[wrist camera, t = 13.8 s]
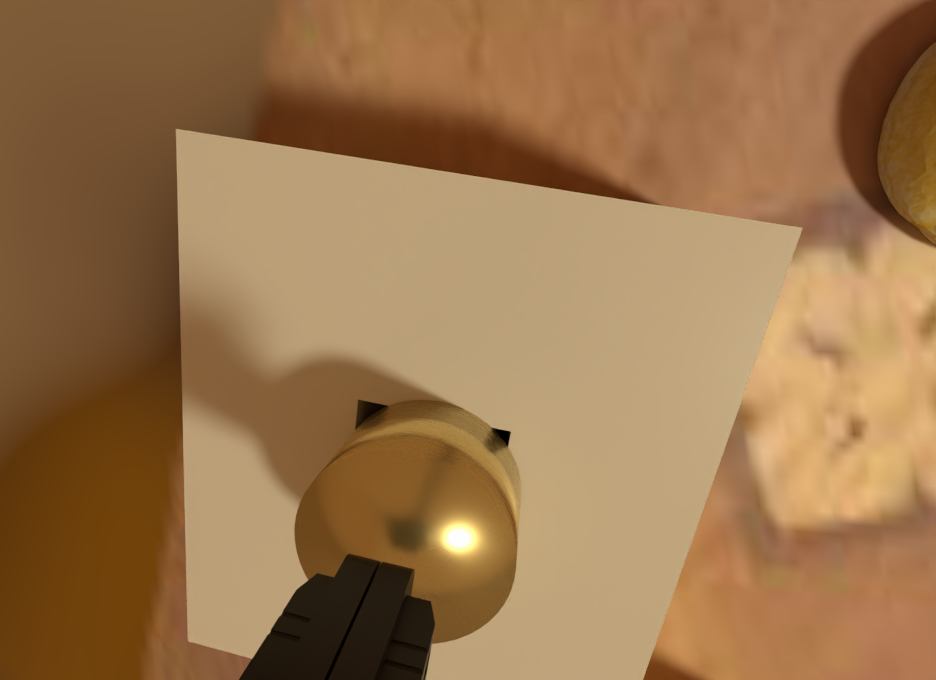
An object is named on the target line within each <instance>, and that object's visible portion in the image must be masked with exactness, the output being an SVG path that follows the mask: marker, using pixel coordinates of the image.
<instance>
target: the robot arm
mask: <svg viewBox="0 0 936 680" xmlns="http://www.w3.org/2000/svg"><path fill="white" fill-rule="evenodd" d="M414 573H415V570H414V569H412V568H407V567H403V566H399V565H395V564H391V563H387V562H382V563H381V561H378V560H374V559H370V558H366V557H361V556H357V555H353V554H348V555H347V556H346V557H345V559H344V560H343V562H342V564H341V566H340V568H339V569H338V571H337V573H336V575H335V577H331V576H327V575H323V574H319V573H317V574H316V575H315V576H313V577H312V578H311V579H309V580H308V581H307V582H306V583H304V584H303V585H302V586H300V587H299V588H298V589H297V590H296V591H295V593H294V594H293V596H292V597H291V599H290V601H289V602H288V604H287V605H286V607H285V608H284V610H283V612H282V615H281V616H279V618H278V619H277V621H276V622H275V624H274V626H273V627H272V629H271V632H270V634H268V635H267V636H266V638H265V640H264V641H263V643H262V644H261V646H260V647H259V649H258V651H257V652H256V654H255V655H254V657H253V658H252V660H251V662H250V663H249V665H248V666H247V668H246V669H245V671H244V672H243V674H242V676H241V677H240V679H239V680H426V675H427V670H428V664H429V658H430V652H431V646H432V641H433V635H434V629H435V620H434V615H433V609H432V604H431V601H428V600H424V599H420V598H416V597H412V596H411V594H412V587H413V581H414Z"/></svg>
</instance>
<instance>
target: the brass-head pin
mask: <svg viewBox="0 0 936 680" xmlns="http://www.w3.org/2000/svg"><path fill="white" fill-rule="evenodd" d="M520 506H521V480H520V474H519V470H518V467H517V464H516V461H515V459H514V457H513V455H512V453H511V451H510V449H509V448H508V446H507V444H506V443H505V441H504V440H503V439H502V438H501V437H500V435H499V434H498V433H497V432H496V431H495V428H492V427H491V426H490V425H488V424H487V423H486V422H485V421H483V420H482V419H480V418H479V417H478V416H476V415H474V414H472V413H471V412H469V411H467V410H465V409H462V408H460V407H457V406H455V405H452V404H448V403H444V402H439V401H432V400H411V401H403V402H399V403H395V404H392V405H389V406H387V407H384V408H382V409H380V410H379V411H377V412H375V413H373V414H372V415H371V416H369V417H368V418H367V419H365V420H364V421H363V422H362V423H361V424H360V426H359V427H358V428H357V429H356V430H355V431H354V432H353V434H352V435H351V436H350V437H349V438H348V440H347V441H346V442H345V443H344V445H343V446H342V447H341V448H340V449H339V451H338V452H337V453H336V454H335V455H334V457H333V458H332V459H331V460H330V461H329V463H328V464H327V465H326V466H325V467H324V469H323V470H322V471H321V472H320V473H319V475H318V476H317V477H316V478H315V480H314V481H313V482H312V483H311V485H310V486H309V488H308V489H307V490H306V492H305V493H304V495H303V498H302V500H301V502H300V504H299V507H298V510H297V514H296V519H295V527H294V533H295V545H296V551H297V555H298V558H299V561H300V564H301V567H302V569H303V571H304V573H305V575H306V577H307V579H308V580H309V579H311V578H312V577H313V576H315V575H316V574H317V573H319V574H323V575H327V576H331V577H335V575H336V573H337V571H338V569H339V568H340V566H341V564H342V562H343V560H344V559H345V557H346V556H347V555H348V554H353V555H357V556H361V557H366V558H370V559H374V560H378V561H381V563H382V562H387V563H391V564H395V565H399V566H403V567H407V568H412V569H414V570H415V573H414V581H413V587H412V594H411V596H412V597H416V598H420V599H424V600H428V601H431V604H432V609H433V615H434V620H435V629H434V635H433V641H432V644H436V643H444V642H448V641H452V640H456V639H459V638H462V637H464V636H467V635H469V634H471V633H473V632H475V631H477V630H478V629H480V628H481V627H483V626H484V625H485V624H487V623H488V622H489V621H490V620H491V619H492V618H493V617H494V616H495V615H496V614H497V613H498V612H499V611H500V609H501V608H502V607H503V605H504V604H505V602H506V600H507V598H508V596H509V594H510V592H511V589H512V586H513V583H514V579H515V572H516V562H517V548H518V534H519V520H520Z"/></svg>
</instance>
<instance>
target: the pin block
mask: <svg viewBox="0 0 936 680" xmlns="http://www.w3.org/2000/svg"><path fill="white" fill-rule="evenodd" d="M176 156H177V195H178V196H177V199H178V239H179V281H180V282H179V283H180V326H181V368H182V410H183V453H184V495H185V537H186V580H187V622H188V641H189V642H193V643H197V644H200V645H204V646H208V647H211V648H215V649H219V650H222V651H226V652H230V653H233V654H237V655H241V656H244V657H248V658H253V657H254V655H255V654H256V652H257V651H258V649H259V647H260V646H261V644H262V643H263V641H264V640H265V638H266V636H267V635H268V634H270V632H271V629H272V627H273V626H274V624H275V622H276V621H277V619H278V618H279V616H281V615H282V612H283V610H284V608H285V607H286V605H287V604H288V602H289V601H290V599H291V597H292V596H293V594H294V593H295V591H296V590H297V589H298V588H299V587H300V586H302V585H303V584H304V583H306V582H307V581H308V579H307V577H306V575H305V573H304V571H303V569H302V567H301V564H300V561H299V558H298V555H297V551H296V545H295V533H294V527H295V519H296V514H297V510H298V507H299V504H300V502H301V500H302V498H303V495H304V493H305V492H306V490H307V489H308V488H309V486H310V485H311V483H312V482H313V481H314V480H315V478H316V477H317V476H318V475H319V473H320V472H321V471H322V470H323V469H324V467H325V466H326V465H327V464H328V463H329V461H330V460H331V459H332V458H333V457H334V455H335V454H336V453H337V452H338V451H339V449H340V448H341V447H342V446H343V445H344V443H345V442H346V441H347V440H348V438H349V437H350V436H351V435H352V434H353V432H354V431H355V430H356V429H357V428H358V427H359V426H360V424H361V423H362V422H363V421H364V420H365V419H367V418H368V417H369V416H371V415H372V414H373V413H375V412H377V411H379V410H380V409H382V408H384V407H387V406H389V405H392V404H395V403H399V402H403V401H411V400H432V401H439V402H444V403H448V404H452V405H455V406H457V407H460V408H462V409H465V410H467V411H469V412H471V413H472V414H474V415H476V416H478V417H479V418H480V419H482V420H483V421H485V422H486V423H487V424H488V425H490V426H491V427H492V428H495V431H496V432H497V433H498V434H499V435H500V437H501V438H502V439H503V440H504V441H505V443H506V444H507V446H508V448H509V449H510V451H511V453H512V455H513V457H514V459H515V461H516V464H517V467H518V470H519V474H520V480H521V506H520V520H519V534H518V548H517V562H516V572H515V579H514V583H513V586H512V589H511V592H510V594H509V596H508V598H507V600H506V602H505V604H504V605H503V607H502V608H501V609H500V611H499V612H498V613H497V614H496V615H495V616H494V617H493V618H492V619H491V620H490V621H489V622H488V623H487V624H485V625H484V626H483V627H481V628H480V629H478V630H477V631H475V632H473V633H471V634H469V635H467V636H464V637H462V638H459V639H456V640H452V641H448V642H444V643H436V644H432V646H431V652H430V658H429V664H428V670H427V675H426V680H643V678H644V675H645V673H646V670H647V667H648V664H649V661H650V659H651V656H652V653H653V650H654V647H655V644H656V642H657V639H658V636H659V633H660V630H661V627H662V625H663V622H664V619H665V616H666V613H667V610H668V608H669V605H670V602H671V599H672V596H673V593H674V591H675V588H676V585H677V582H678V579H679V576H680V574H681V571H682V568H683V565H684V562H685V559H686V557H687V554H688V551H689V548H690V545H691V542H692V540H693V537H694V534H695V531H696V528H697V525H698V523H699V520H700V517H701V514H702V511H703V508H704V506H705V503H706V500H707V497H708V494H709V491H710V489H711V486H712V483H713V480H714V477H715V475H716V472H717V469H718V466H719V463H720V460H721V458H722V455H723V452H724V449H725V446H726V443H727V441H728V438H729V435H730V432H731V429H732V426H733V424H734V421H735V418H736V415H737V412H738V409H739V407H740V404H741V401H742V398H743V395H744V392H745V390H746V387H747V384H748V381H749V378H750V375H751V373H752V370H753V367H754V364H755V361H756V358H757V356H758V353H759V350H760V347H761V344H762V341H763V339H764V336H765V333H766V330H767V327H768V324H769V322H770V319H771V316H772V313H773V310H774V308H775V305H776V302H777V299H778V296H779V293H780V291H781V288H782V285H783V282H784V279H785V276H786V274H787V271H788V268H789V265H790V262H791V259H792V257H793V254H794V251H795V248H796V245H797V242H798V240H799V237H800V234H801V231H802V228H799V227H792V226H786V225H780V224H774V223H767V222H761V221H755V220H748V219H742V218H736V217H729V216H723V215H717V214H710V213H704V212H698V211H692V210H685V209H679V208H673V207H666V206H660V205H654V204H647V203H641V202H635V201H628V200H622V199H616V198H610V197H603V196H597V195H591V194H584V193H578V192H572V191H565V190H559V189H553V188H546V187H540V186H534V185H528V184H521V183H515V182H509V181H502V180H496V179H490V178H483V177H477V176H471V175H464V174H458V173H452V172H446V171H439V170H433V169H427V168H420V167H414V166H408V165H401V164H395V163H389V162H383V161H376V160H370V159H364V158H357V157H351V156H345V155H338V154H332V153H326V152H319V151H313V150H307V149H301V148H294V147H288V146H282V145H275V144H269V143H263V142H256V141H250V140H244V139H237V138H230V137H225V136H219V135H212V134H206V133H199V132H193V131H187V130H180V129H176Z"/></svg>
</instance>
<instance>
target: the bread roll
mask: <svg viewBox="0 0 936 680" xmlns="http://www.w3.org/2000/svg"><path fill="white" fill-rule="evenodd" d="M877 160H878V173H879V177H880V181H881V184H882V186H883V188H884V190H885V192H886V195H887V197H888V199H889V200H890V202H891V204H892V205H893V206H894V208H895V209H896V211H897V212H898V213H899V214H900V215H901V216H903V217H904V218H905V219H906V220H907V221H908V222H910V223H912V224H913V225H914V226H916V227H918V228H919V230H920V231H921V232H922V234H923V235H924V236H925V237H926V238H927V239H928V240H929V241H930V242H932V243H933V244H935V245H936V42H934V43H933V44H932V45H931V46H930V47H929V48H928V49H927V50H926V51H924V53H923V54H922V55H921V56H920V57H919V59H918V60H917V61H916V62H915V64H914V65H913V66H912V68H911V69H910V70H909V72H908V73H907V74H906V76H905V77H904V79H903V81H902V82H901V84H900V86H899V88H898V90H897V92H896V94H895V96H894V98H893V99H892V101H891V103H890V105H889V109H888V112H887V114H886V117H885V119H884V122H883V126H882V131H881V136H880V141H879V146H878V155H877Z"/></svg>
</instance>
